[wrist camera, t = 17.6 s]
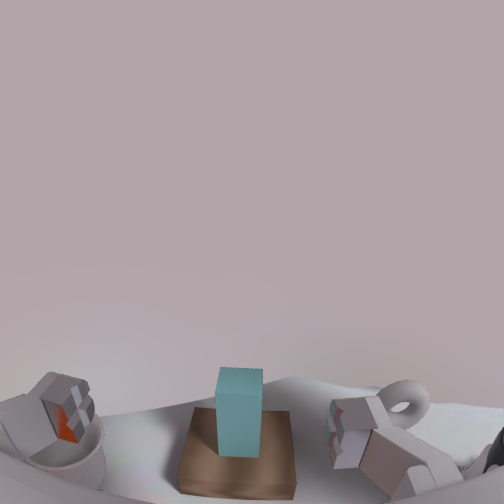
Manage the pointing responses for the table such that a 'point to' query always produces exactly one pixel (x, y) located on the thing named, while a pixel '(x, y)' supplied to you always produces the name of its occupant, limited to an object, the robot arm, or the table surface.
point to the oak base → (238, 461)
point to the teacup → (75, 457)
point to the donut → (405, 393)
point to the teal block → (239, 411)
